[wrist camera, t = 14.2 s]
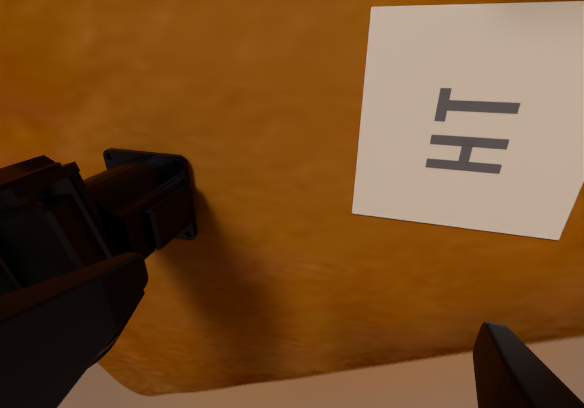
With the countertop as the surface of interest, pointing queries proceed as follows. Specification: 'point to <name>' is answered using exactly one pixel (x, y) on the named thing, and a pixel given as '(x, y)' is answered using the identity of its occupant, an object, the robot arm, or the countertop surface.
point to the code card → (474, 116)
